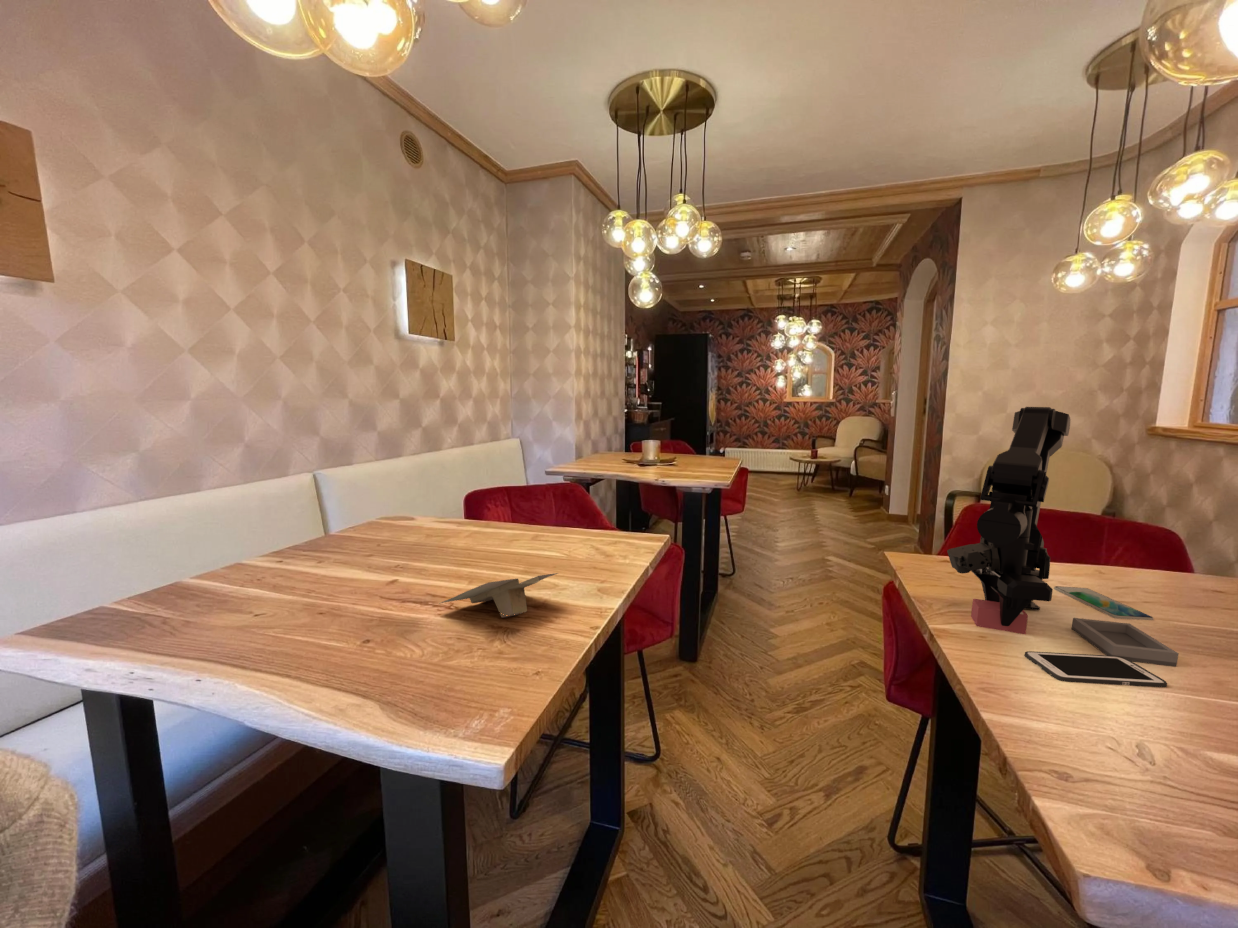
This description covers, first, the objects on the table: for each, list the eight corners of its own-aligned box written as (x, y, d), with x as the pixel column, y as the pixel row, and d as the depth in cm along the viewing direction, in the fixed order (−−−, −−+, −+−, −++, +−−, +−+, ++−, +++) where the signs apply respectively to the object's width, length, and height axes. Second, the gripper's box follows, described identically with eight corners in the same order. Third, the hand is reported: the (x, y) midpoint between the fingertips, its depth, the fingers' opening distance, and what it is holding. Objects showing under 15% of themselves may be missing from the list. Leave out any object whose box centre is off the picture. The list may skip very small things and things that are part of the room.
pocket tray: (1071, 629, 90) (1073, 617, 90) (1127, 635, 88) (1129, 623, 88) (1111, 658, 80) (1113, 645, 80) (1176, 666, 78) (1178, 653, 78)
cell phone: (1021, 656, 81) (1021, 650, 81) (1122, 661, 80) (1123, 656, 80) (1057, 683, 73) (1058, 677, 73) (1170, 690, 72) (1171, 683, 72)
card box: (976, 626, 91) (978, 606, 90) (971, 616, 95) (973, 597, 94) (1025, 634, 88) (1027, 614, 87) (1017, 623, 92) (1020, 604, 91)
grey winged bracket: (448, 650, 88) (493, 611, 80) (435, 602, 91) (477, 561, 84) (525, 632, 100) (571, 598, 92) (511, 591, 104) (554, 554, 96)
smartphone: (1087, 587, 109) (1156, 618, 94) (1086, 591, 109) (1155, 622, 94) (1052, 585, 110) (1115, 615, 95) (1051, 589, 110) (1114, 620, 95)
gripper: (937, 517, 100) (929, 594, 102) (977, 544, 82) (967, 636, 84) (1004, 522, 97) (994, 601, 99) (1060, 550, 79) (1047, 646, 81)
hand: (998, 619), depth 91 cm, fingers closed on card box, 5 cm apart
